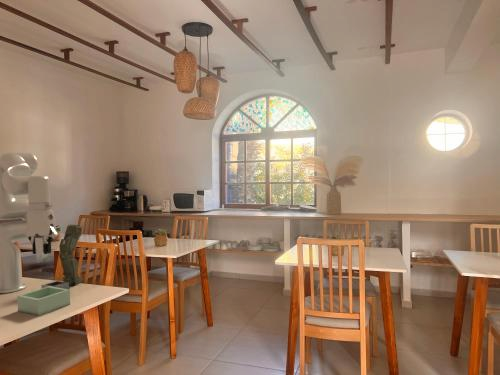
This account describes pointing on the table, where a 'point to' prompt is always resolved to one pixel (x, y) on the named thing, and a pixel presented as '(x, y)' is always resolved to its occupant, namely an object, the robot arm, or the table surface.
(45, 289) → the bin
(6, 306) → the table surface
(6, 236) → the robot arm
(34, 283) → the table surface
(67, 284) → the socket block
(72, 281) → the mechanical leg
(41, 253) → the strut
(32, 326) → the table surface
